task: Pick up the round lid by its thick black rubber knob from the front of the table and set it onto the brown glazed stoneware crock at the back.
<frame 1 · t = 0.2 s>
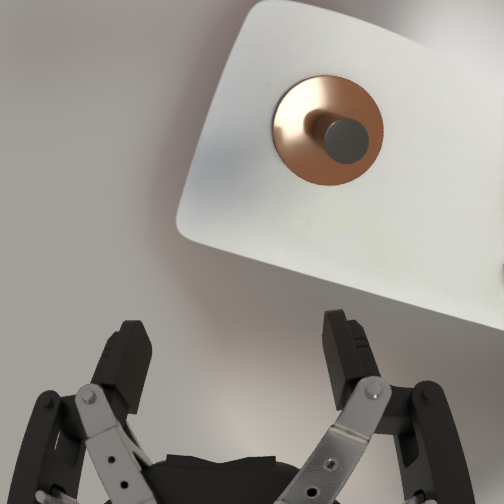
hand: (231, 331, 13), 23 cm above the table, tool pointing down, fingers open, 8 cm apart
crock lid: (329, 130, 29), point 1 cm above the table
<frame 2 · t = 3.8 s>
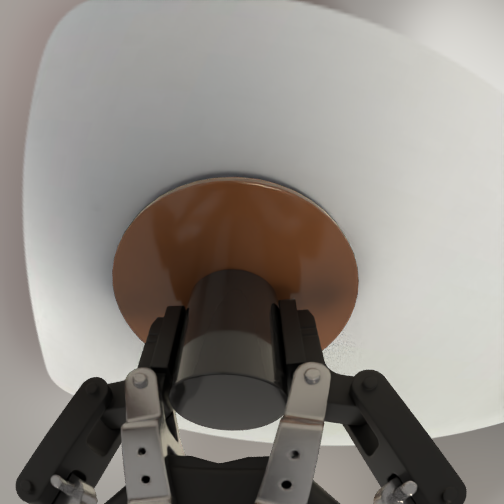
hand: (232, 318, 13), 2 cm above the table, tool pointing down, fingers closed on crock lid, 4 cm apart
crock lid: (233, 297, 15), point 1 cm above the table, touching gripper
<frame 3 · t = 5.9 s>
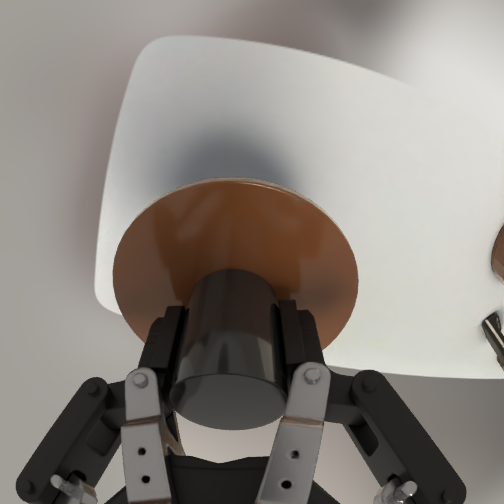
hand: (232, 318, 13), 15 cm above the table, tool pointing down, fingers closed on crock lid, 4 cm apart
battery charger: (492, 323, 36), on the table
crock lid: (234, 297, 15), point 13 cm above the table, touching gripper
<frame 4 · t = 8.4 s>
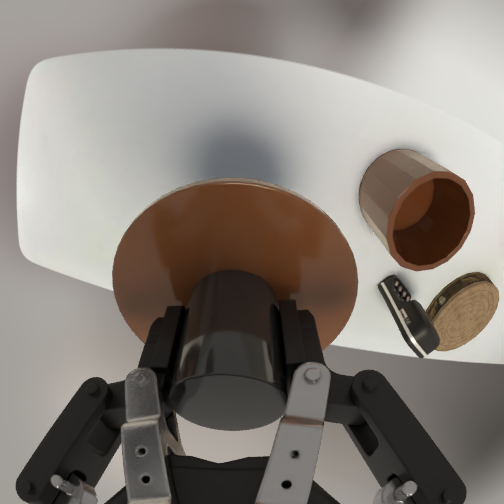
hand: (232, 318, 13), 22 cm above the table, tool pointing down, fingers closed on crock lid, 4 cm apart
crock: (399, 192, 33), on the table
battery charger: (396, 288, 41), on the table
wood log slice: (458, 308, 44), on the table
crock lid: (233, 297, 15), point 20 cm above the table, touching gripper
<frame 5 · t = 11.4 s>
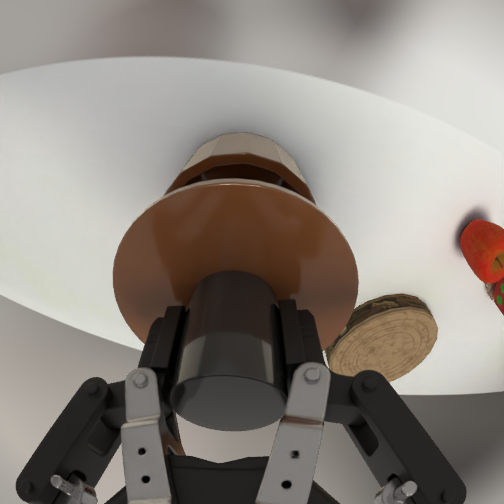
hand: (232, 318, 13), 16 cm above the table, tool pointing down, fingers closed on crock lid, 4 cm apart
crock: (241, 191, 28), on the table
wood log slice: (379, 337, 38), on the table
crock lid: (234, 298, 15), point 15 cm above the table, touching gripper
apple: (468, 231, 30), on the table
when the fingers open (10 cm above the table, at t = 13.3 s): crock lid stays where it is, resting on crock.
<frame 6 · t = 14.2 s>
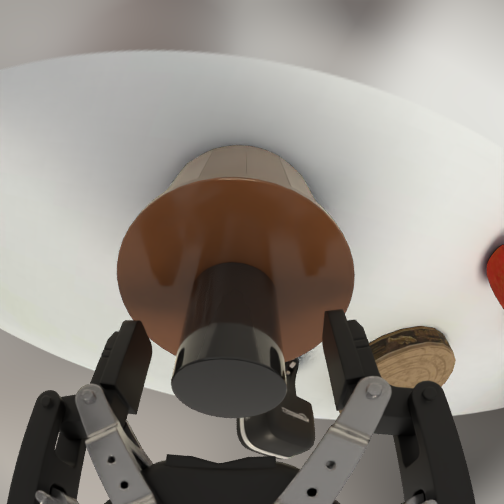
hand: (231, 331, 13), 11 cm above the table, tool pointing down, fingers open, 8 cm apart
crock: (238, 218, 23), on the table
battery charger: (273, 349, 30), on the table
wood log slice: (392, 369, 33), on the table
crock lid: (234, 290, 15), point 8 cm above the table, touching crock
apple: (494, 256, 25), on the table
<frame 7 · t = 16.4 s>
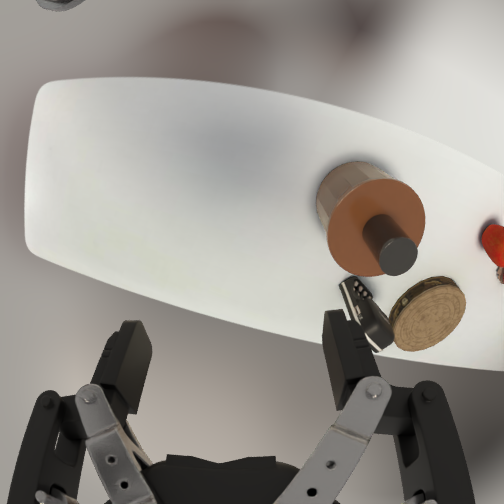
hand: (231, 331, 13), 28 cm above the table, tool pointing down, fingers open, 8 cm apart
crock: (355, 200, 39), on the table
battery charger: (357, 288, 47), on the table
wood log slice: (424, 310, 49), on the table
crock lid: (377, 229, 32), point 8 cm above the table, touching crock
apple: (486, 232, 41), on the table
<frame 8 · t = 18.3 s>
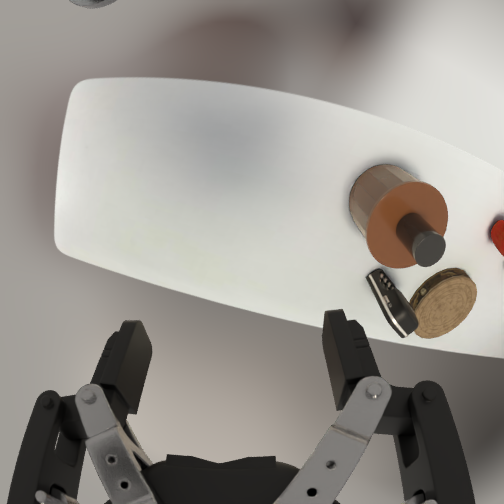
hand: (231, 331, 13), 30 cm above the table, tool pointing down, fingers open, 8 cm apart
crock: (383, 199, 41), on the table
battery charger: (382, 280, 49), on the table
wood log slice: (439, 299, 52), on the table
crock lid: (408, 225, 34), point 8 cm above the table, touching crock
apple: (495, 227, 44), on the table
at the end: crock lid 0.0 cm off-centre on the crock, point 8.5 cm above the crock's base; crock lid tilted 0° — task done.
